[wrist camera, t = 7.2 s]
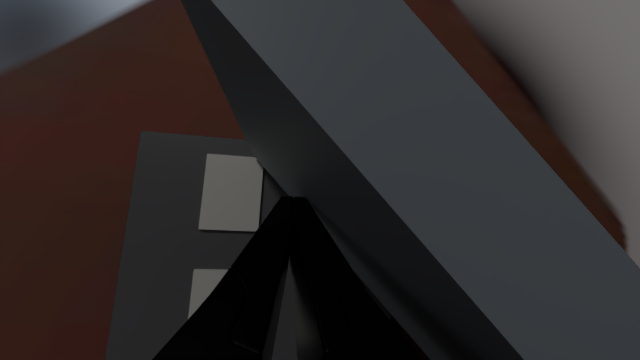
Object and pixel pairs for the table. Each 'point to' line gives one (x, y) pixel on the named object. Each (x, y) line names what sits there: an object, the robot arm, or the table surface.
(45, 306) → the table surface
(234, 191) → the label plate
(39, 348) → the table surface
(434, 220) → the gate panel
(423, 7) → the table surface
